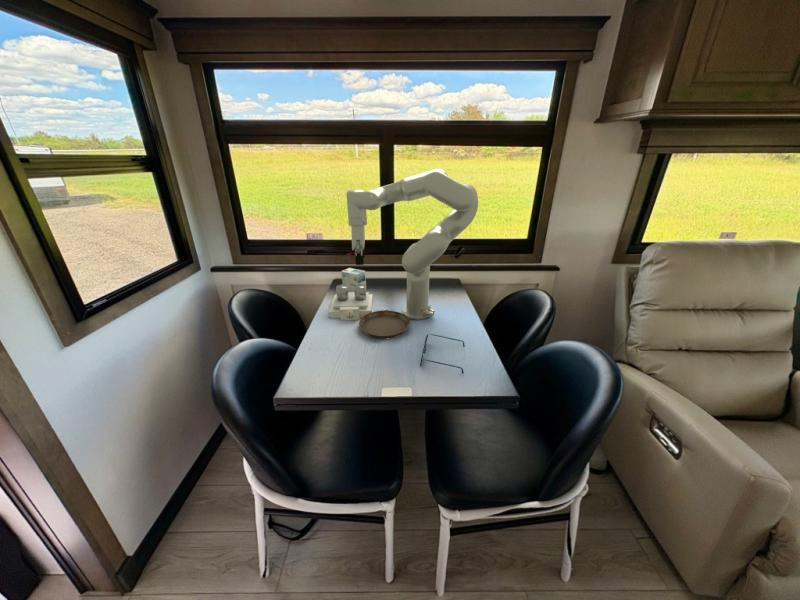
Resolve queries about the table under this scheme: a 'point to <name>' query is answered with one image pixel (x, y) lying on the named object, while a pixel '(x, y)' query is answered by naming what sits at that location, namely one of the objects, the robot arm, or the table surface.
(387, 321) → the plant saucer
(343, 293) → the ball
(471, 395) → the table surface
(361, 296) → the cylinder
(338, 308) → the scale
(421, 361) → the sunglasses
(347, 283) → the light bulb box
